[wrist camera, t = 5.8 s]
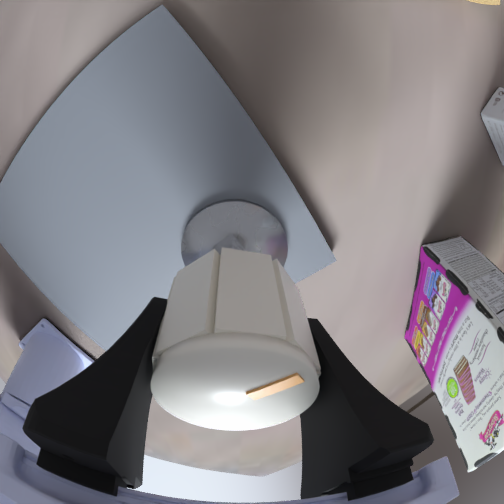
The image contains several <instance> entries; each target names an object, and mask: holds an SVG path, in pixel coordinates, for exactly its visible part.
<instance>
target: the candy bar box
mask: <svg viewBox="0 0 504 504" xmlns="http://www.w3.org/2000/svg"><path fill="white" fill-rule="evenodd" d="M405 340H406V341H407V343H408V344H409V346H410V348H411V350H412V352H413V353H414V355H415V357H416V359H417V361H418V363H419V364H420V366H421V368H422V370H423V372H424V374H425V376H426V378H427V380H428V382H429V383H430V385H431V388H432V390H433V392H434V394H435V395H436V398H437V399H438V401H439V404H440V406H441V408H442V410H443V412H444V415H445V417H446V419H447V421H448V423H449V426H450V428H451V430H452V432H453V435H454V437H455V439H456V442H457V444H458V447H459V449H460V452H461V454H462V457H463V459H464V461H465V465H466V467H467V470H468V472H470V471H473V470H475V469H476V468H478V467H479V466H481V465H482V464H484V463H486V462H487V461H489V460H490V459H492V458H493V457H494V456H496V455H497V454H499V453H500V452H501V451H503V450H504V273H503V272H502V271H501V270H500V269H498V268H497V267H496V266H495V265H494V264H493V263H492V262H491V261H490V260H489V259H488V258H487V257H485V256H484V255H483V254H482V253H481V252H480V251H478V250H477V249H476V248H475V247H474V246H473V245H471V244H470V243H469V242H468V241H467V240H465V239H464V238H463V237H462V236H456V237H451V238H448V239H445V240H442V241H438V242H433V243H429V244H425V245H422V246H421V249H420V257H419V265H418V272H417V279H416V285H415V291H414V297H413V302H412V307H411V312H410V317H409V321H408V325H407V330H406V333H405Z"/></svg>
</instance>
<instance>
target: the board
mask: <svg viewBox="0 0 504 504" xmlns="http://www.w3.org/2000/svg"><path fill="white" fill-rule="evenodd" d="M227 199H242V200H248V201H252V202H254V203H257V204H259V205H261V206H263V207H265V208H266V209H268V210H269V211H270V212H271V213H273V214H274V215H275V216H276V218H277V219H278V220H279V222H280V223H281V225H282V227H283V229H284V232H285V235H286V238H287V243H288V255H287V259H286V262H285V265H284V267H283V268H284V269H285V271H286V272H287V273H288V275H289V276H290V278H291V279H292V280H293V282H294V283H297V282H299V281H301V280H303V279H304V278H306V277H308V276H310V275H312V274H314V273H315V272H317V271H319V270H321V269H323V268H324V267H326V266H328V265H330V264H332V263H333V262H335V261H336V259H335V257H334V255H333V253H332V251H331V250H330V248H329V246H328V244H327V242H326V240H325V239H324V237H323V235H322V233H321V231H320V230H319V228H318V226H317V224H316V223H315V221H314V219H313V217H312V216H311V214H310V212H309V210H308V209H307V207H306V205H305V204H304V202H303V200H302V198H301V197H300V195H299V193H298V192H297V190H296V188H295V187H294V185H293V183H292V182H291V180H290V179H289V177H288V175H287V174H286V172H285V171H284V169H283V167H282V166H281V164H280V163H279V161H278V159H277V158H276V156H275V155H274V153H273V152H272V150H271V148H270V147H269V145H268V144H267V142H266V141H265V139H264V138H263V136H262V135H261V133H260V132H259V130H258V129H257V127H256V126H255V124H254V123H253V121H252V120H251V118H250V117H249V115H248V114H247V113H246V111H245V110H244V108H243V107H242V105H241V104H240V103H239V101H238V100H237V98H236V97H235V95H234V94H233V93H232V91H231V90H230V89H229V87H228V86H227V84H226V83H225V82H224V80H223V79H222V78H221V76H220V75H219V74H218V72H217V71H216V70H215V68H214V67H213V66H212V64H211V63H210V62H209V60H208V59H207V58H206V57H205V55H204V54H203V53H202V51H201V50H200V49H199V48H198V46H197V45H196V44H195V43H194V41H193V40H192V39H191V38H190V36H189V35H188V34H187V33H186V31H185V30H184V29H183V28H182V27H181V25H180V24H179V23H178V22H177V21H176V20H175V18H174V17H173V16H172V15H171V14H170V13H169V11H168V10H167V9H166V8H165V7H164V6H163V5H161V6H159V7H158V8H156V9H155V10H153V11H152V12H150V13H149V14H148V15H146V16H145V17H143V18H142V19H141V20H139V21H138V22H137V23H135V24H134V25H133V26H132V27H130V28H129V29H128V30H126V31H125V32H124V33H123V34H122V35H120V36H119V37H118V38H117V39H116V40H114V41H113V42H112V43H111V44H110V45H109V46H108V47H106V48H105V49H104V50H103V51H102V52H101V53H100V54H99V55H98V56H97V57H96V58H95V59H93V60H92V61H91V62H90V63H89V64H88V65H87V66H86V67H85V68H84V69H83V70H82V71H81V72H80V74H79V75H78V76H77V77H76V78H75V79H74V80H73V81H72V82H71V83H70V84H69V85H68V87H67V88H66V89H65V90H64V91H63V92H62V93H61V95H60V96H59V97H58V98H57V99H56V101H55V102H54V103H53V104H52V105H51V107H50V108H49V109H48V110H47V112H46V113H45V114H44V116H43V117H42V118H41V120H40V121H39V122H38V124H37V125H36V126H35V128H34V129H33V131H32V132H31V133H30V135H29V136H28V138H27V139H26V141H25V142H24V144H23V145H22V147H21V149H20V150H19V152H18V153H17V155H16V156H15V158H14V160H13V161H12V163H11V165H10V167H9V168H8V170H7V172H6V174H5V175H4V177H3V179H2V181H1V183H0V243H1V245H2V246H3V247H4V248H5V250H6V251H7V252H8V254H9V255H10V256H11V257H12V259H13V260H14V261H15V262H16V263H17V265H18V266H19V267H20V268H21V269H22V271H23V272H24V273H25V274H26V275H27V276H28V278H29V279H30V280H31V281H32V282H33V283H34V284H35V285H36V286H37V287H38V289H39V290H40V291H41V292H42V293H43V294H44V295H45V296H46V297H47V298H48V299H49V300H50V301H51V302H52V303H53V304H54V305H55V306H56V307H57V308H58V309H59V310H60V311H61V312H62V313H63V314H64V315H65V316H66V317H67V318H68V319H69V320H70V321H72V322H73V323H74V324H75V325H76V326H77V327H78V328H79V329H80V330H81V331H83V332H84V333H85V334H86V335H87V336H88V337H89V338H91V339H92V340H93V341H94V342H95V343H97V344H98V345H99V346H100V347H101V348H103V349H104V350H105V351H107V350H108V349H109V348H110V347H111V346H112V345H113V344H114V343H115V342H116V341H117V340H118V339H119V338H120V337H121V336H122V335H123V334H124V333H125V332H126V330H127V329H128V328H129V327H130V326H131V325H132V323H133V322H134V321H135V320H136V319H137V318H138V316H139V315H140V314H141V313H142V311H143V310H144V309H145V307H146V306H147V305H148V303H149V302H150V300H151V299H152V298H153V297H159V298H164V299H168V296H169V293H170V290H171V286H172V283H173V280H174V277H176V275H177V272H178V271H180V270H181V269H183V268H184V267H185V265H184V262H183V259H182V254H181V243H182V238H183V235H184V232H185V229H186V227H187V225H188V223H189V222H190V220H191V219H192V217H193V216H194V215H195V214H196V213H197V212H199V211H200V210H201V209H202V208H204V207H206V206H208V205H209V204H212V203H214V202H217V201H221V200H227Z"/></svg>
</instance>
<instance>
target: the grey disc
mask: <svg viewBox="0 0 504 504" xmlns="http://www.w3.org/2000/svg"><path fill="white" fill-rule="evenodd" d="M222 247H224V248H230V249H236V250H243V251H249V252H255V253H261V254H268V255H271V258H272V261H273V260H275V259H278V261H279V262H280V264H281V265H282V266H283V267H284V265H285V262H286V259H287V255H288V243H287V238H286V235H285V232H284V229H283V227H282V225H281V223H280V222H279V220H278V219H277V218H276V216H275V215H274V214H273V213H271V212H270V211H269V210H268V209H266V208H265V207H263V206H261V205H259V204H257V203H254V202H252V201H248V200H242V199H227V200H221V201H217V202H214V203H212V204H209V205H208V206H206V207H204V208H202V209H201V210H200V211H199V212H197V213H196V214H195V215H194V216H193V217H192V219H191V220H190V222H189V223H188V225H187V227H186V229H185V232H184V235H183V238H182V243H181V254H182V259H183V262H184V265H185V267H186V266H188V265H189V264H191V263H192V262H194V261H195V260H197V259H199V258H200V257H202V256H203V255H205V254H207V253H208V252H210V251H212V250H213V249H215V250H216V251H217V252H218V253H219V254H220V255H221V249H222Z"/></svg>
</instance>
